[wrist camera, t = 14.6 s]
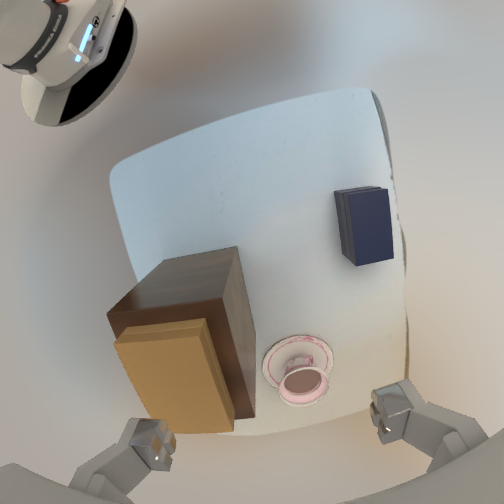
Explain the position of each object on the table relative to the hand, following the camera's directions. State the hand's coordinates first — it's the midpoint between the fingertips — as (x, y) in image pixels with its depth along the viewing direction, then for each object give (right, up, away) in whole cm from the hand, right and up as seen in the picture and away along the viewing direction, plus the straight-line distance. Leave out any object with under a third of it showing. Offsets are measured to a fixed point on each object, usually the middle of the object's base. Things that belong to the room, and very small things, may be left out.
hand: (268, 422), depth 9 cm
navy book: (+14, +10, +25) cm, 30 cm away
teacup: (+7, -12, +35) cm, 38 cm away
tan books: (-7, -5, +15) cm, 17 cm away
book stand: (-7, 0, +32) cm, 33 cm away
